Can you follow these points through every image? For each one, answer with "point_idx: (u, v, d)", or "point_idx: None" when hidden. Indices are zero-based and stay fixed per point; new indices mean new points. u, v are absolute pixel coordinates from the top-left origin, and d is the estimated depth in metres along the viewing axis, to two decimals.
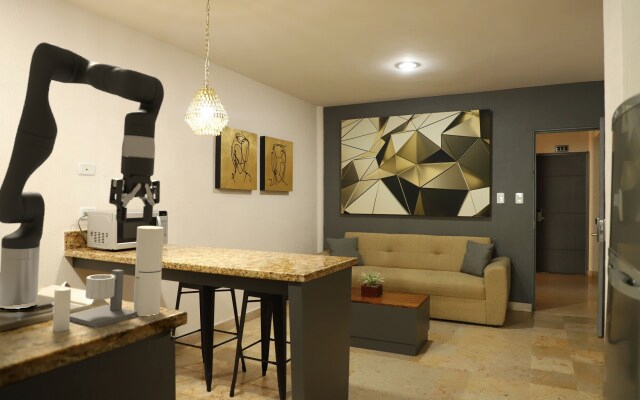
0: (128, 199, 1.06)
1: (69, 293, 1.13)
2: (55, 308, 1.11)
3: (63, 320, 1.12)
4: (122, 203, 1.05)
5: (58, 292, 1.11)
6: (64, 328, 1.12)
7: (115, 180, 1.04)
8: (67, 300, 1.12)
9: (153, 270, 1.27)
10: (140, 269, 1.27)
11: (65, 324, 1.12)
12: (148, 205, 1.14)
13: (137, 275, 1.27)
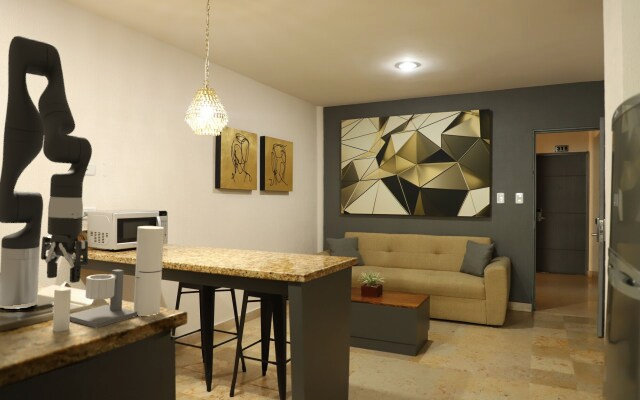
0: None
1: (69, 293, 1.13)
2: (55, 308, 1.11)
3: (63, 320, 1.12)
4: None
5: (58, 292, 1.11)
6: (64, 328, 1.12)
7: (83, 242, 1.09)
8: (67, 300, 1.12)
9: (153, 270, 1.28)
10: (140, 269, 1.27)
11: (65, 324, 1.12)
12: (54, 262, 1.14)
13: (137, 275, 1.27)
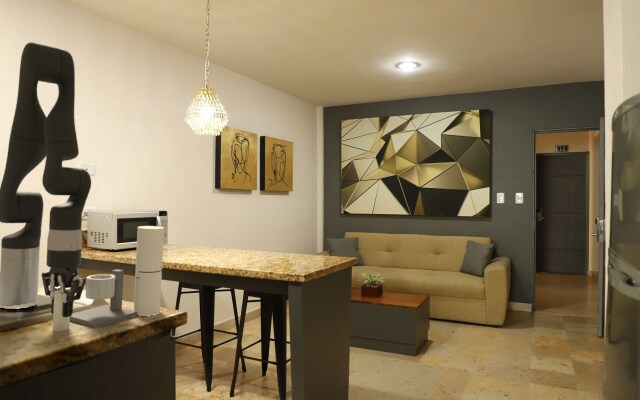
0: None
1: (69, 293, 1.13)
2: (55, 308, 1.11)
3: (63, 320, 1.12)
4: None
5: (58, 292, 1.11)
6: (64, 328, 1.12)
7: (81, 281, 1.10)
8: None
9: (153, 270, 1.28)
10: (140, 269, 1.27)
11: (65, 324, 1.12)
12: None
13: (137, 275, 1.27)
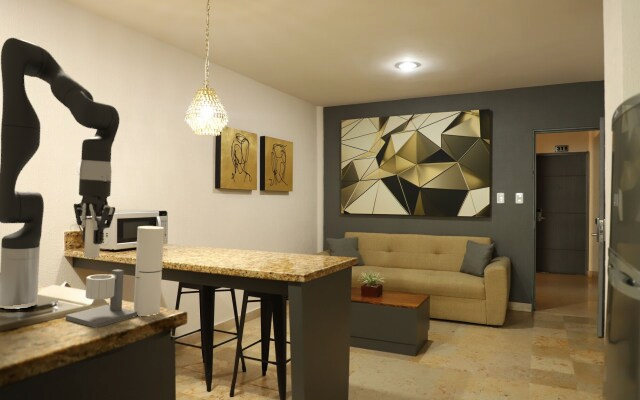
0: None
1: (99, 222, 1.19)
2: (86, 235, 1.18)
3: (94, 247, 1.18)
4: None
5: (89, 220, 1.18)
6: (95, 255, 1.18)
7: (111, 209, 1.16)
8: None
9: (153, 270, 1.28)
10: (140, 269, 1.27)
11: (95, 251, 1.19)
12: None
13: (137, 275, 1.27)
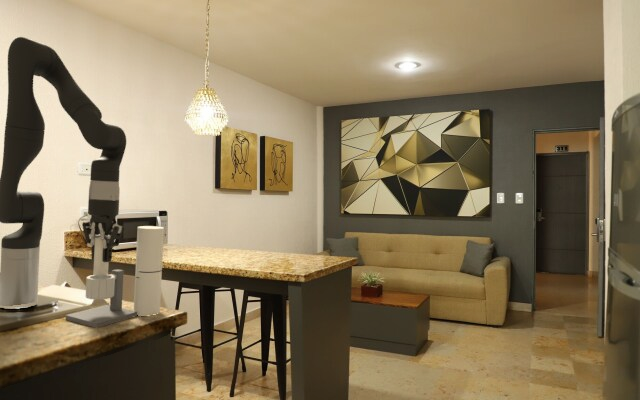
0: None
1: (108, 240, 1.22)
2: (96, 254, 1.21)
3: (103, 265, 1.21)
4: None
5: (98, 239, 1.20)
6: (104, 272, 1.21)
7: (120, 228, 1.19)
8: None
9: (153, 270, 1.28)
10: (140, 269, 1.27)
11: (104, 268, 1.21)
12: None
13: (137, 275, 1.27)
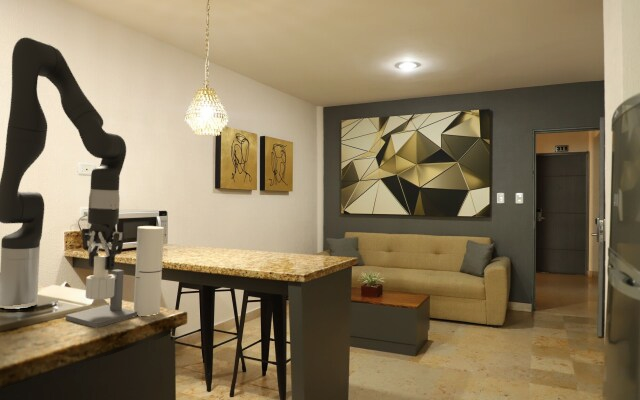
0: None
1: None
2: (95, 273, 1.21)
3: None
4: None
5: (98, 258, 1.21)
6: None
7: (121, 235, 1.19)
8: None
9: (153, 270, 1.28)
10: (140, 269, 1.27)
11: None
12: (95, 252, 1.24)
13: (137, 275, 1.27)
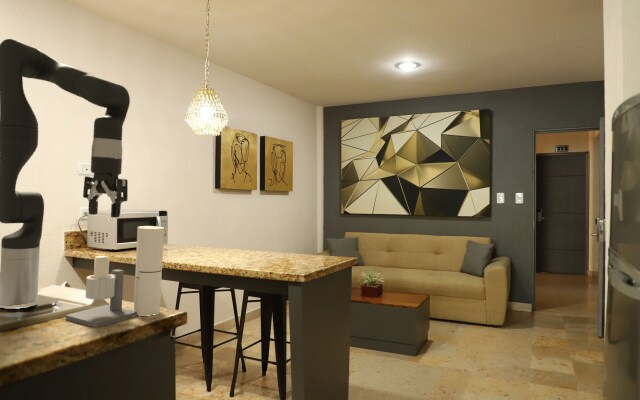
0: None
1: (108, 260, 1.22)
2: (95, 273, 1.21)
3: None
4: None
5: (98, 258, 1.21)
6: None
7: (124, 180, 1.19)
8: (106, 266, 1.22)
9: (153, 270, 1.28)
10: (140, 269, 1.27)
11: None
12: (95, 200, 1.24)
13: (137, 275, 1.27)
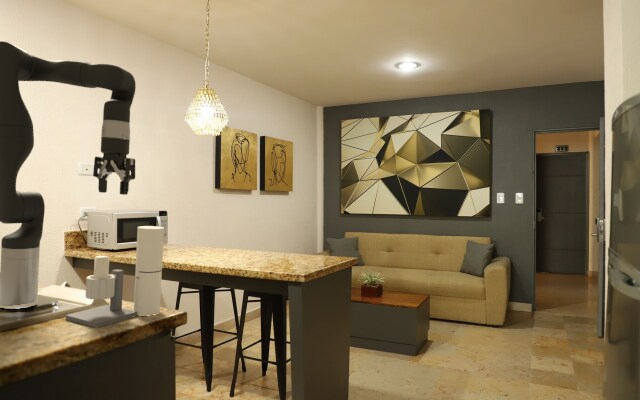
0: None
1: (108, 260, 1.22)
2: (95, 273, 1.21)
3: None
4: None
5: (98, 258, 1.21)
6: None
7: (132, 159, 1.27)
8: (106, 266, 1.22)
9: (153, 270, 1.28)
10: (140, 269, 1.27)
11: None
12: (104, 179, 1.32)
13: (137, 275, 1.27)
